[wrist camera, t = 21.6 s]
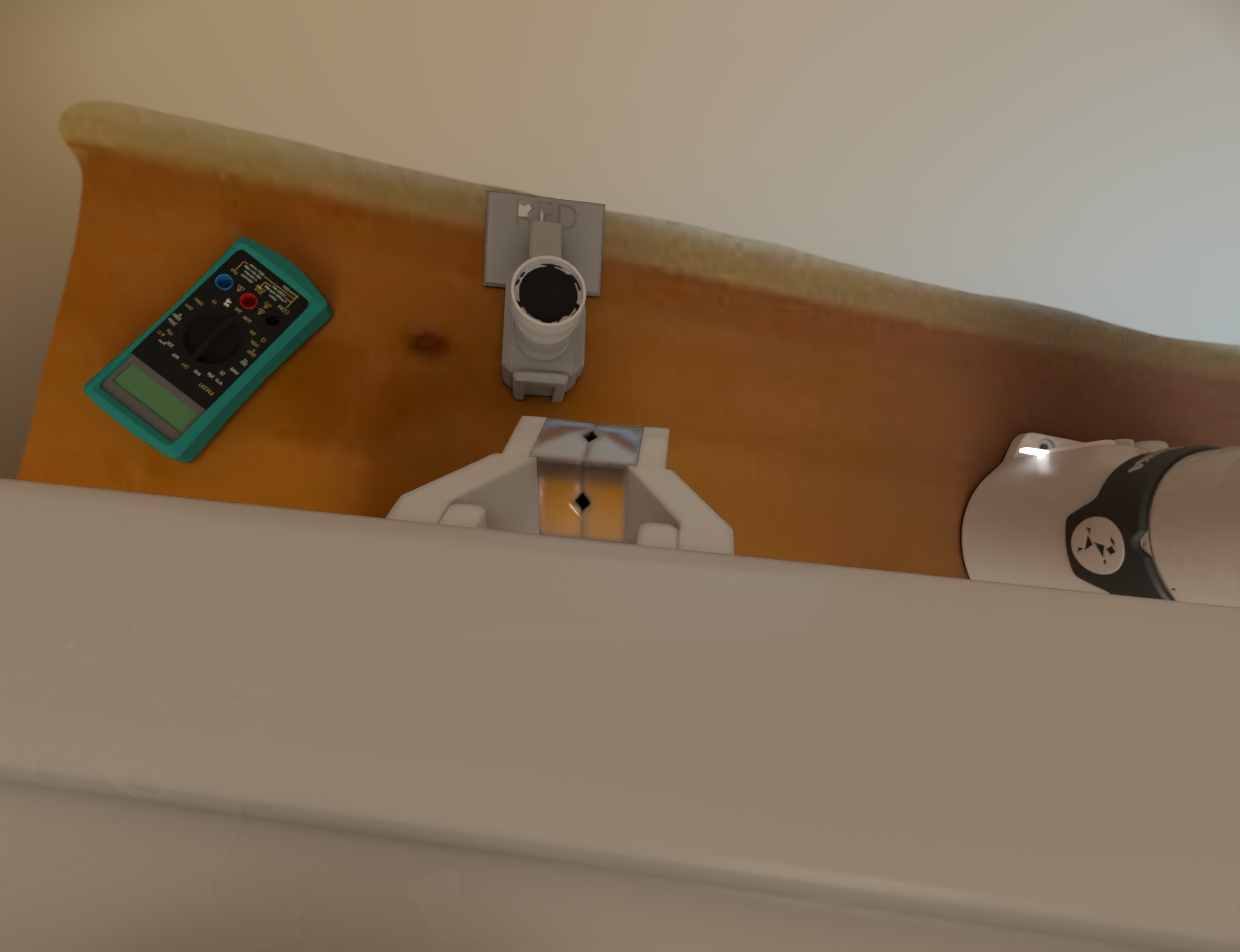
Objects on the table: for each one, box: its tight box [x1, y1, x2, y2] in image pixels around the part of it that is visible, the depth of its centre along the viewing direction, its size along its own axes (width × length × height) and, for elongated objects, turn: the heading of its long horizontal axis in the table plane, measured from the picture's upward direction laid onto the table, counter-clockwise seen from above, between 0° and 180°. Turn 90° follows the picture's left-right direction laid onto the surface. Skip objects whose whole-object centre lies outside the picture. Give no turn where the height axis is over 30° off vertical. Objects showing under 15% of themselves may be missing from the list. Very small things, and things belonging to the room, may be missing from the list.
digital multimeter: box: [83, 237, 333, 462], centre depth 43 cm, size 7×15×3 cm, turn 143°
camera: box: [483, 191, 605, 402], centre depth 43 cm, size 9×12×15 cm
